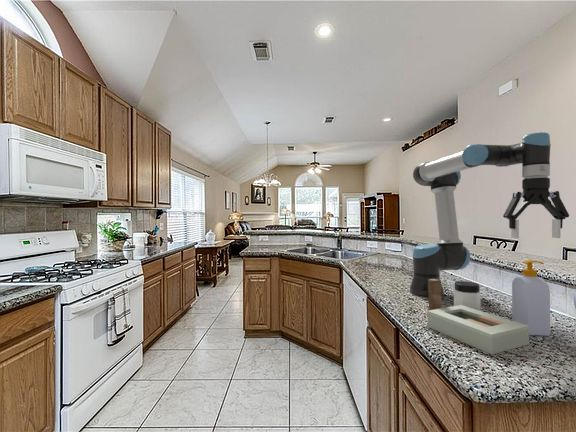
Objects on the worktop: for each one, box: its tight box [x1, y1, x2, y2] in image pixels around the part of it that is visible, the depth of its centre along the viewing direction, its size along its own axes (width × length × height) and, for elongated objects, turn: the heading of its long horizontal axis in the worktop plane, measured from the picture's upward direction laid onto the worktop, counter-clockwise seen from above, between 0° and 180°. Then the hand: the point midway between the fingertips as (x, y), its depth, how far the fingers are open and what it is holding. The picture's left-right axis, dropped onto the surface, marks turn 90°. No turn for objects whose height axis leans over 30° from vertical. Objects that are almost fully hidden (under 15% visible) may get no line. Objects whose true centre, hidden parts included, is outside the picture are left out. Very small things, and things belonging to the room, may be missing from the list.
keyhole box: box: [426, 305, 530, 355], centre depth 95 cm, size 22×16×6 cm
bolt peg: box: [427, 279, 442, 311], centre depth 111 cm, size 5×5×14 cm
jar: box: [453, 280, 482, 311], centre depth 113 cm, size 9×8×12 cm
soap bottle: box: [511, 260, 551, 337], centre depth 97 cm, size 9×7×23 cm
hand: (535, 238), depth 105 cm, fingers open, 13 cm apart
